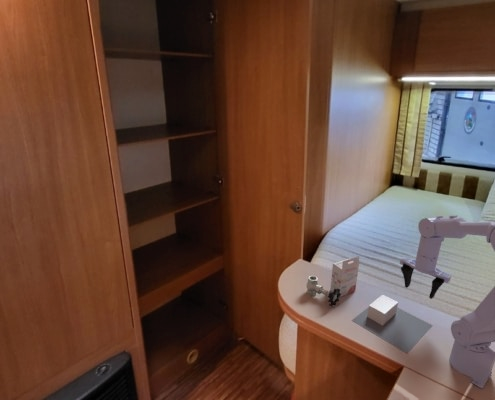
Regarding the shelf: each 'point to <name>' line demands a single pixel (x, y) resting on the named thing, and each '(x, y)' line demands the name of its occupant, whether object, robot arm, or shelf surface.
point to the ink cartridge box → (345, 275)
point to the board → (396, 329)
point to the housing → (382, 309)
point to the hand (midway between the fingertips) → (419, 291)
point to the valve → (321, 290)
